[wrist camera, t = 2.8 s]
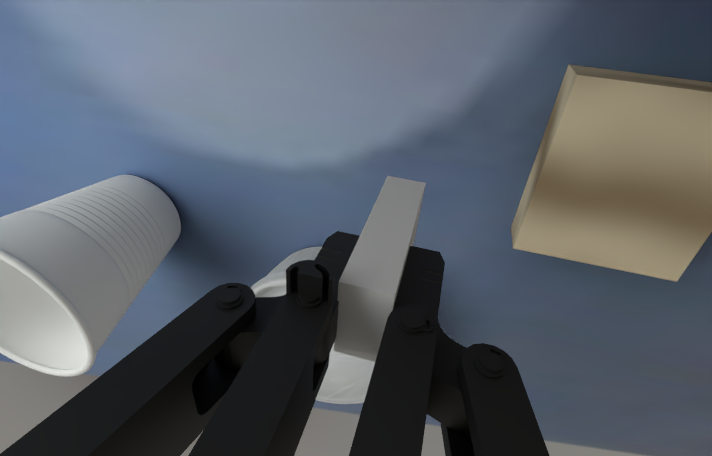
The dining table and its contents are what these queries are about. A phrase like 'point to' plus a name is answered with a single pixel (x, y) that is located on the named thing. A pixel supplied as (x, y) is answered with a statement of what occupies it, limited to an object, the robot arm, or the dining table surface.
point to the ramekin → (344, 371)
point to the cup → (79, 269)
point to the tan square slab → (622, 173)
